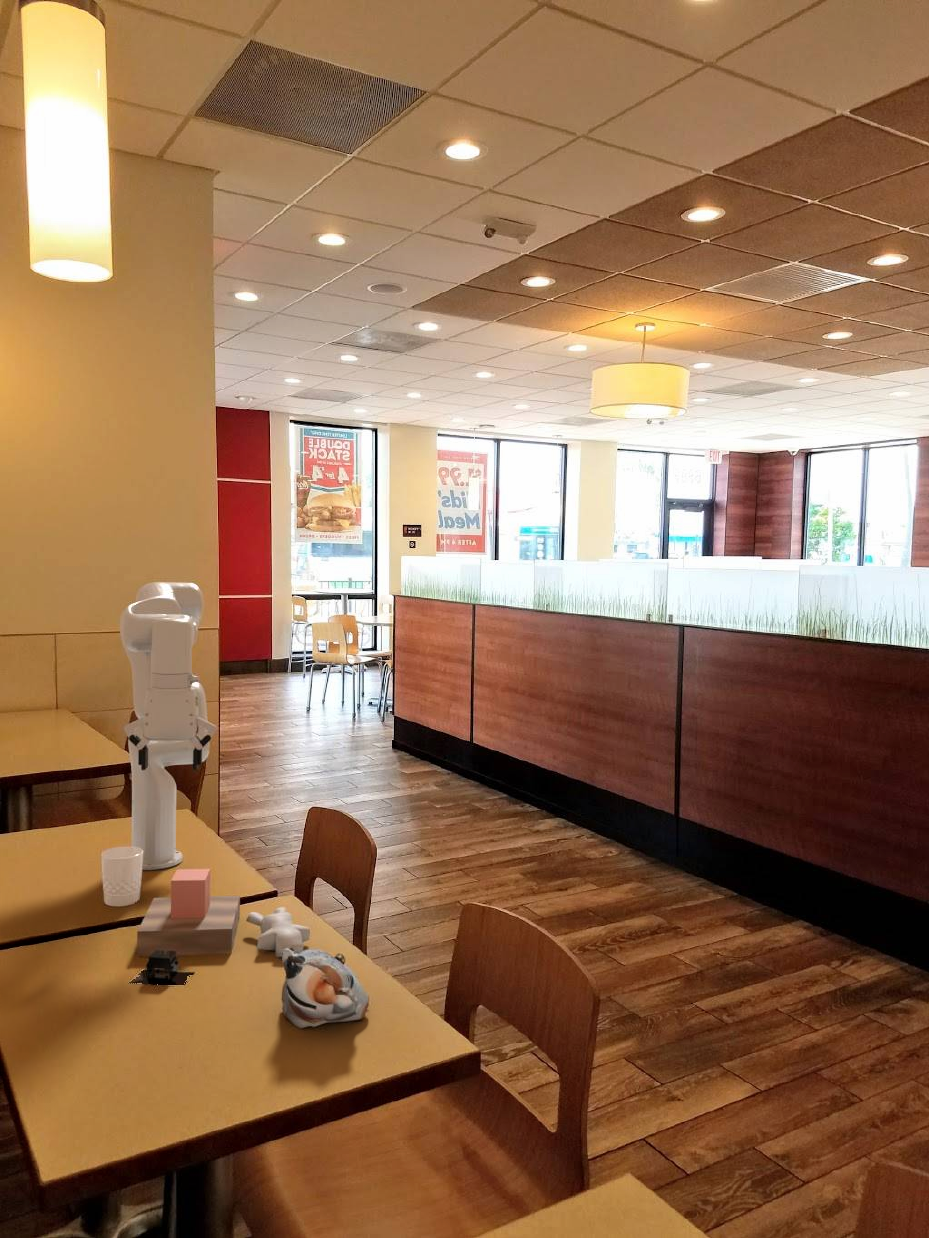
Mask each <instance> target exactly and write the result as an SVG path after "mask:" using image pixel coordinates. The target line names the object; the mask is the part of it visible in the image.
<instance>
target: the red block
mask: <svg viewBox="0 0 929 1238" xmlns="http://www.w3.org/2000/svg"><path fill="white" fill-rule="evenodd" d="M170 897H171V919H174V918H205V916H206V914H207V911H208V909H209V906H210V897H211V869H210V868H187V869H184V868H180V869H179V868H178V869H176V871H175V873H174V875H173V876H172V878H171V879H170Z"/></svg>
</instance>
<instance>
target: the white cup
mask: <svg viewBox="0 0 929 1238" xmlns="http://www.w3.org/2000/svg"><path fill="white" fill-rule="evenodd" d="M100 854H101V876H102V890H103V902H104V904H105V905H107V906H110V907H117V908H119V907H126V906H131V905H134V904H136V903H137V901H138V900H139V901H140V897H141V887H142V879H143V870H142V864H143V850H142V849H141V848H138V847H133V846H132V845H130V846H129V845H126V846H115V847H110V848H108V849H107V848H106V849H105V850H103V851H102V852H101V853H100ZM139 901H138V902H139ZM135 902H136V903H135Z"/></svg>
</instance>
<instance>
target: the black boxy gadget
mask: <svg viewBox="0 0 929 1238" xmlns="http://www.w3.org/2000/svg"><path fill="white" fill-rule="evenodd" d="M163 954H164V950H155V951H154V952H153V953H152V954H151V955H150V956H148V960H147V961H146V965H145V968H144V969H145V970H143V971H141V973H139V974H138V975H140V976H139V977H136V979H133V980H132V981H131V982H129V981H128V982H129V983H130V984H131V983H132V984H131V985H138V984H137V983H142V984H145V985H144V986H146V984H151V985H150V986H158V985H185V984H186V982H187V981H186V980H187V976H189V975H193V976H194V975H195V974H196V972H195V971H184V972H182V970H181V971H180V970H179V969H178V968H179V956H177V955H176V951H167V952H166V953H165V954H164V955H163ZM189 977H190V976H189ZM185 981H186V982H185ZM128 982H127V983H128ZM129 983H128V985H129ZM133 983H134V984H133ZM135 983H136V984H135ZM184 983H185V984H184ZM187 983H188V982H187ZM142 984H141V985H142ZM157 984H158V985H157ZM186 985H187V984H186ZM186 985H185V986H186Z"/></svg>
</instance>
